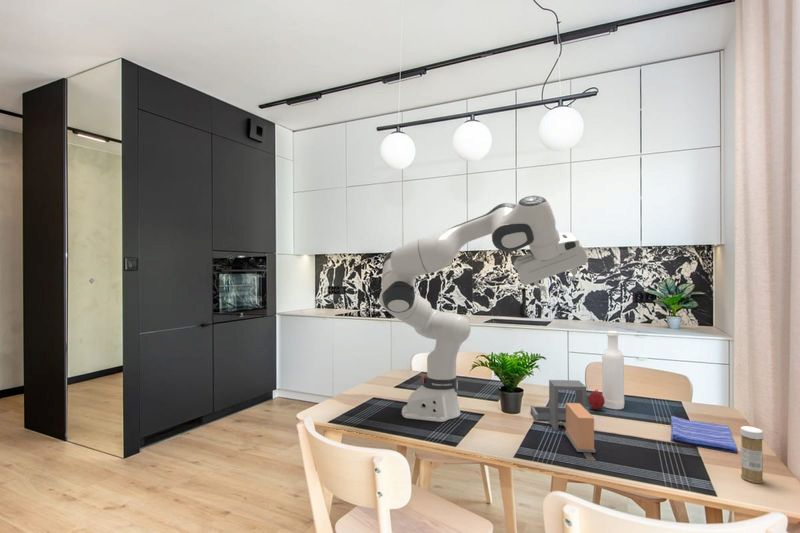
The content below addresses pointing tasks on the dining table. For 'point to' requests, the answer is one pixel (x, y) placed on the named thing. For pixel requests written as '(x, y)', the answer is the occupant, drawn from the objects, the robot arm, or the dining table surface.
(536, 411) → the tray
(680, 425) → the dish towel
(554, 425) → the tunnel
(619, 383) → the bottle
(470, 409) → the dining table surface
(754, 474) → the sprinkles bottle
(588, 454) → the rail
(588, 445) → the orange rectangular block
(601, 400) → the onion
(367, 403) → the dining table surface
